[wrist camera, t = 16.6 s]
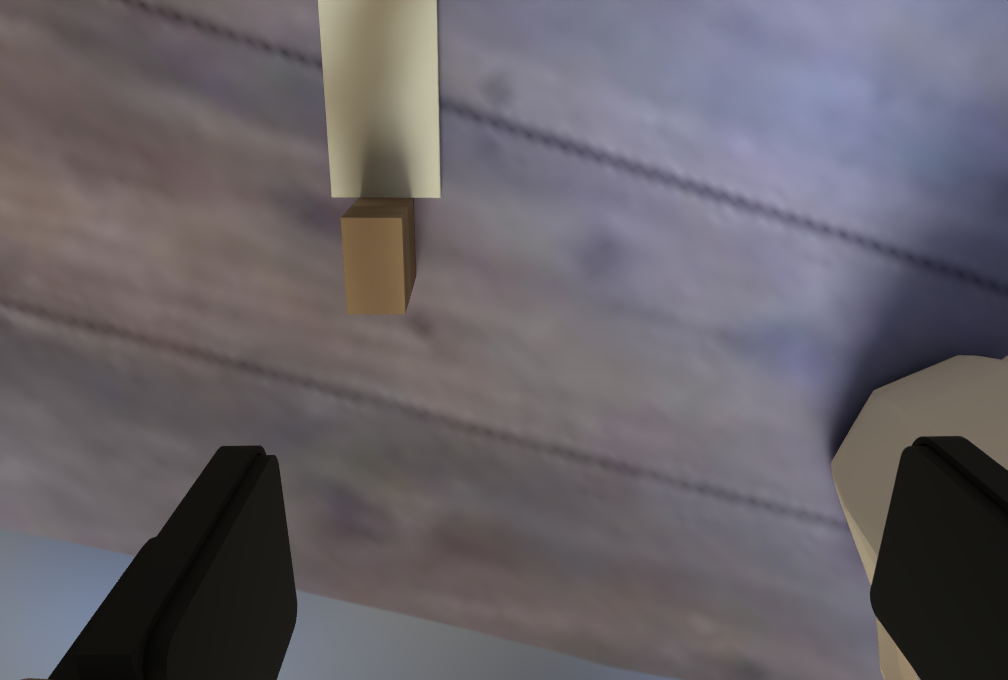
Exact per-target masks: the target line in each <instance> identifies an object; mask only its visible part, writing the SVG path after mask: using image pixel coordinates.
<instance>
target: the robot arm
mask: <svg viewBox="0 0 1008 680" xmlns="http://www.w3.org/2000/svg"><path fill="white" fill-rule="evenodd" d="M870 601H871V605H872V608H873V611H874V613H875V615H876V617H877V619H878V620H879V621H880V623H881V624H882V626H883V627H884V628H885V630H886V631H887V633H888V634H889V635H890V637H891V638H892V640H893V641H894V642H895V644H896V645H897V647H898V648H899V649H900V651H901V652H902V654H903V655H904V656H905V658H906V659H907V661H908V662H909V663H910V665H911V666H912V668H913V669H914V671H915V672H916V673H917V675H918V676H919V678H920V679H921V680H1008V470H1007V469H1005V468H1004V467H1003V466H1001V465H1000V464H999V463H997V462H996V461H995V460H994V459H992V458H991V457H990V456H988V455H987V454H986V453H984V452H983V451H982V450H981V449H979V448H978V447H977V446H975V445H974V444H973V443H971V442H970V441H969V440H968V439H966V438H964V437H962V436H921V437H919V438H917V439H916V440H915V441H914V442H913V443H912V446H908V447H906V448H905V449H904V450H903V451H902V454H901V457H900V461H899V465H898V470H897V474H896V479H895V483H894V487H893V492H892V496H891V501H890V505H889V510H888V514H887V518H886V523H885V527H884V532H883V536H882V541H881V545H880V549H879V554H878V558H877V563H876V567H875V572H874V576H873V580H872V585H871V590H870ZM296 617H297V598H296V589H295V582H294V574H293V567H292V559H291V552H290V544H289V537H288V529H287V522H286V514H285V507H284V500H283V492H282V485H281V477H280V470H279V463H278V459H277V457H276V456H275V455H266V453H265V450H264V448H263V447H262V446H221V447H220V448H219V449H218V450H217V451H216V453H215V454H214V456H213V457H212V459H211V460H210V461H209V463H208V464H207V466H206V467H205V469H204V470H203V471H202V473H201V474H200V476H199V477H198V478H197V480H196V481H195V483H194V484H193V486H192V487H191V488H190V490H189V491H188V493H187V494H186V496H185V497H184V498H183V500H182V501H181V503H180V504H179V505H178V507H177V508H176V510H175V511H174V513H173V514H172V515H171V517H170V518H169V520H168V521H167V523H166V524H165V525H164V527H163V528H162V530H161V531H160V532H159V534H158V535H157V537H154V538H151V539H149V540H148V541H147V543H146V544H145V545H144V546H143V547H142V548H141V550H140V551H139V552H138V554H137V555H136V557H135V558H134V559H133V561H132V562H131V564H130V565H129V566H128V568H127V569H126V571H125V572H124V573H123V575H122V576H121V577H120V579H119V580H118V582H117V583H116V584H115V586H114V587H113V589H112V590H111V592H110V593H109V594H108V596H107V597H106V599H105V600H104V601H103V603H102V604H101V605H100V607H99V608H98V610H97V611H96V612H95V614H94V615H93V617H92V618H91V620H90V621H89V622H88V624H87V625H86V626H85V628H84V629H83V631H82V632H81V633H80V635H79V636H78V637H77V639H76V640H75V642H74V643H73V644H72V646H71V647H70V649H69V650H68V651H67V653H66V654H65V656H64V657H63V658H62V660H61V661H60V663H59V664H58V665H57V667H56V668H55V670H54V671H53V672H52V674H51V675H50V676H49V678H48V679H33V678H27V679H22V680H277V677H278V674H279V671H280V668H281V665H282V662H283V660H284V657H285V653H286V651H287V648H288V645H289V642H290V639H291V636H292V633H293V630H294V627H295V623H296Z"/></svg>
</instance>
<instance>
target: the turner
mask: <svg viewBox="0 0 1008 680" xmlns="http://www.w3.org/2000/svg"><path fill="white" fill-rule="evenodd" d="M318 6H319V21H320V35H321V49H322V63H323V78H324V92H325V106H326V120H327V135H328V149H329V163H330V177H331V191H332V197H360V198H359V199H358V200H357V201H356V202H355V203H354V204H353V205H352V206H351V207H350V209H349V210H348V211H347V212H346V213H345V214H344V215H343V216H342V217H341V229H342V244H343V259H344V274H345V289H346V304H347V314H405V313H406V310H407V306H408V303H409V299H410V296H411V292H412V289H413V285H414V282H415V278H416V260H415V228H414V198H440V197H441V175H440V120H439V64H438V8H437V0H318Z"/></svg>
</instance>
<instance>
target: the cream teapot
mask: <svg viewBox="0 0 1008 680" xmlns="http://www.w3.org/2000/svg"><path fill="white" fill-rule="evenodd" d="M921 436H962V437H964V438H966V439H968V440H969V441H970V442H971V443H973V444H974V445H975V446H977V447H978V448H979V449H981V450H982V451H983V452H984V453H986V454H987V455H988V456H990V457H991V458H992V459H994V460H995V461H996V462H997V463H999V464H1000V465H1001V466H1003V467H1004V468H1005V469H1007V470H1008V356H1006V357H1005V358H1003V359H1002V360H1000V359H994V358H989V357H983V356H971V355H958V356H955V357H952V358H950V359H947V360H945V361H942V362H940V363H938V364H935V365H933V366H930V367H928V368H925V369H923V370H921V371H918V372H916V373H913V374H911V375H909V376H906V377H904V378H901V379H899V380H897V381H894V382H892V383H889V384H887V385H885V386H882V387H880V388H878V389H876V390H873V392H872V394H871V395H870V397H869V398H868V400H867V402H866V403H865V405H864V407H863V408H862V410H861V412H860V413H859V415H858V417H857V419H856V420H855V422H854V424H853V425H852V427H851V429H850V430H849V432H848V434H847V436H846V437H845V439H844V441H843V443H842V444H841V446H840V448H839V449H838V451H837V453H836V455H835V457H834V458H833V460H832V462H831V472H832V476H833V480H834V484H835V487H836V490H837V493H838V496H839V499H840V502H841V505H842V508H843V511H844V514H845V517H846V519H847V522H848V525H849V528H850V531H851V533H852V536H853V539H854V541H855V544H856V547H857V549H858V552H859V555H860V557H861V560H862V563H863V565H864V568H865V571H866V573H867V576H868V579H869V581H870V584H871V585H872V580H873V576H874V572H875V567H876V563H877V558H878V554H879V549H880V545H881V541H882V536H883V532H884V527H885V523H886V518H887V514H888V510H889V505H890V501H891V496H892V492H893V487H894V483H895V479H896V474H897V470H898V465H899V461H900V457H901V454H902V451H903V450H904V449H905V448H906V447H908V446H912V443H913V442H914V441H915V440H916V439H917V438H919V437H921ZM876 623H877V636H878V648H879V661H880V670H881V673H882V675H883V678H884V680H919V679H918V677H917V675H916V672H915V671H914V669H913V668H912V666H911V665H910V663H909V662H908V661H907V659H906V658H905V656H904V655H903V654H902V652H901V651H900V649H899V648H898V647H897V645H896V644H895V642H894V641H893V640H892V638H891V637H890V635H889V634H888V633H887V631H886V630H885V628H884V627H883V626H882V624H881V623H880V621H879V620H878V619H877V617H876Z"/></svg>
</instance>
